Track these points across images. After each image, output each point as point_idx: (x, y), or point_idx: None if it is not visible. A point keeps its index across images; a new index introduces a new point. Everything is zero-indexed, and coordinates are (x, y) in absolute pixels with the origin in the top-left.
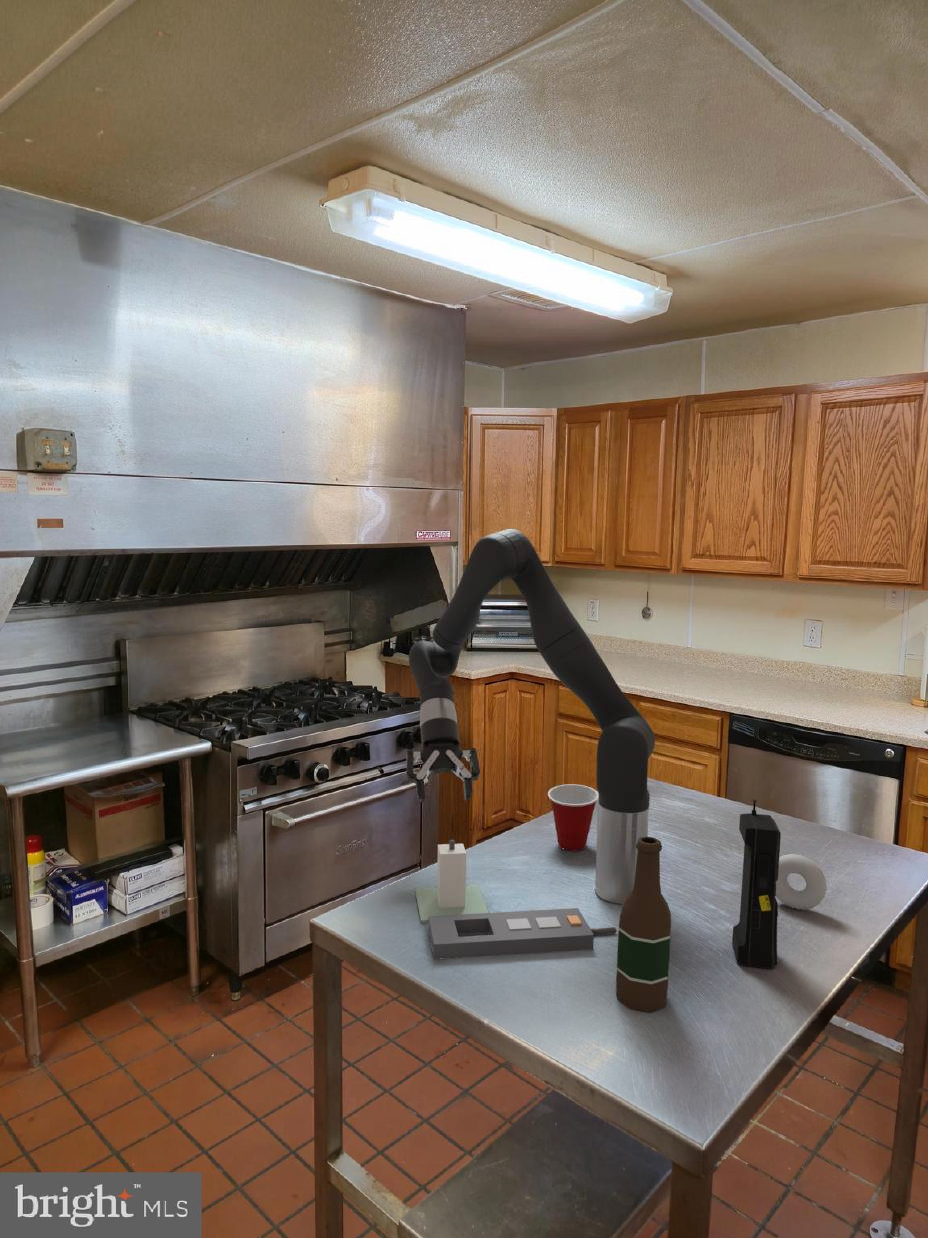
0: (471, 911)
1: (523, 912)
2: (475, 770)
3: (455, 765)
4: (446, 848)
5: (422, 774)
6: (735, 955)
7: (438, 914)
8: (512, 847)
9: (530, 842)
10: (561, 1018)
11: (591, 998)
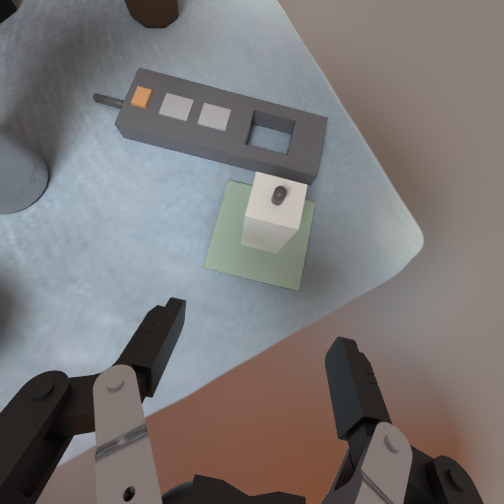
0: (245, 199)
1: (192, 140)
2: (43, 405)
3: (158, 485)
4: (287, 204)
5: (382, 456)
6: (4, 14)
7: None
8: None
9: None
10: (241, 18)
11: (200, 27)
